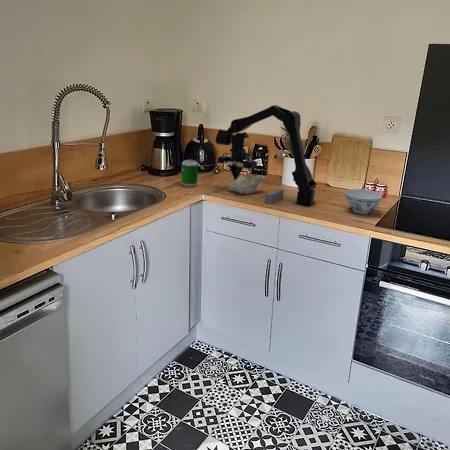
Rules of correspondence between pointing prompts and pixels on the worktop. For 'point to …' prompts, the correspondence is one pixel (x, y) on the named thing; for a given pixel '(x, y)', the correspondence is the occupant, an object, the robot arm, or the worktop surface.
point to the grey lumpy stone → (246, 184)
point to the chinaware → (362, 200)
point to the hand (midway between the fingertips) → (236, 179)
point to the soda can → (189, 173)
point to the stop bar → (274, 196)
